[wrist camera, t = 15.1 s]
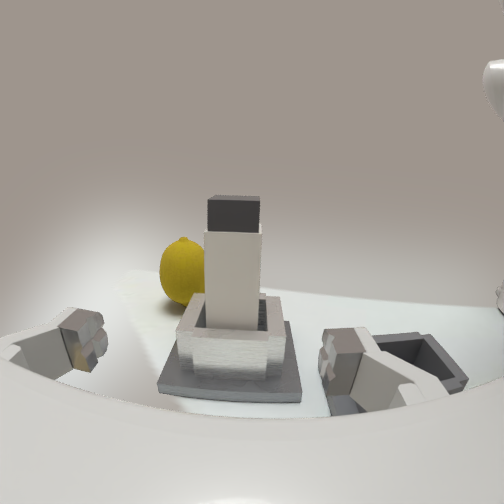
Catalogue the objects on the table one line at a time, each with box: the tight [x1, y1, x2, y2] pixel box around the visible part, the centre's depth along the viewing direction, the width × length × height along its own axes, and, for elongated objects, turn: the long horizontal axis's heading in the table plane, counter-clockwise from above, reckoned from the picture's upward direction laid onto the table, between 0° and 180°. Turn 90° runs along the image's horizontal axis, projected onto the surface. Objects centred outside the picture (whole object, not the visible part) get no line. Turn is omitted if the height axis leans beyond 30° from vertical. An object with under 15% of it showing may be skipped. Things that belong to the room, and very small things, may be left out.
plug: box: [204, 195, 262, 331], centre depth 20 cm, size 4×4×12 cm
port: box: [157, 293, 302, 402], centre depth 22 cm, size 10×10×4 cm
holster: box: [321, 332, 469, 416], centre depth 16 cm, size 10×10×4 cm
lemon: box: [160, 237, 205, 307], centre depth 30 cm, size 6×6×8 cm
